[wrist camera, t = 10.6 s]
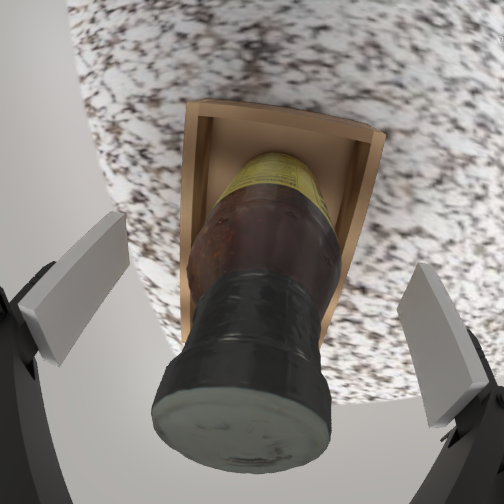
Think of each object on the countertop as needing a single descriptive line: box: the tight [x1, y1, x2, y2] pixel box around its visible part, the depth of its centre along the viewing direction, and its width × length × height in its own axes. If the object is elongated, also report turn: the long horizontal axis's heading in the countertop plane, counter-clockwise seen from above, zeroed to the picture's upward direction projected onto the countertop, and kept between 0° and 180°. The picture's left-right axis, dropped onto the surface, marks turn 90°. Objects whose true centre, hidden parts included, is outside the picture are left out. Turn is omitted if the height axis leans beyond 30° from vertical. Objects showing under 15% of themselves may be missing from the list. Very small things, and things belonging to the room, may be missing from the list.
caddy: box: [180, 98, 386, 349], centre depth 24 cm, size 20×12×5 cm, turn 173°
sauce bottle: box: [151, 153, 342, 474], centre depth 15 cm, size 7×6×20 cm
